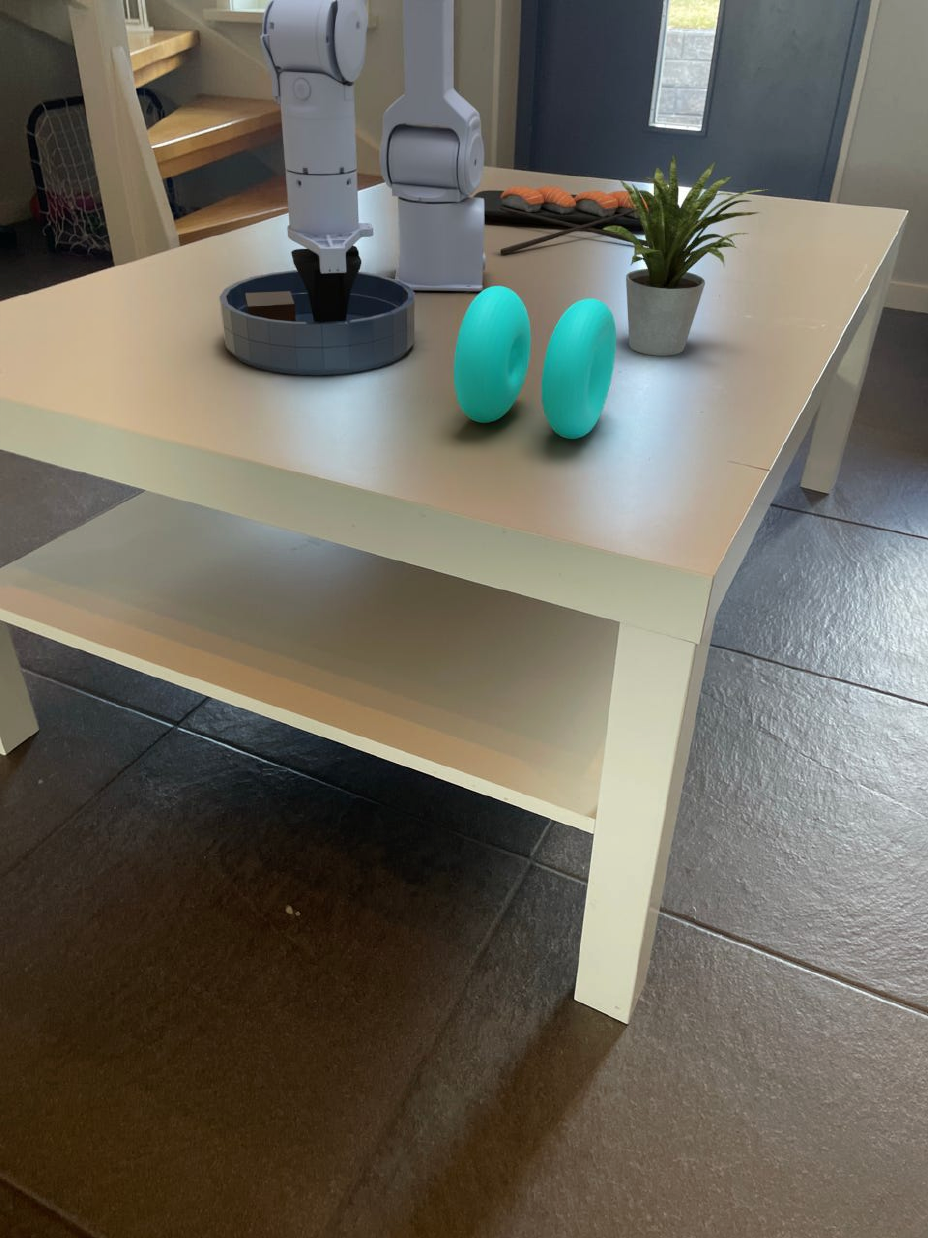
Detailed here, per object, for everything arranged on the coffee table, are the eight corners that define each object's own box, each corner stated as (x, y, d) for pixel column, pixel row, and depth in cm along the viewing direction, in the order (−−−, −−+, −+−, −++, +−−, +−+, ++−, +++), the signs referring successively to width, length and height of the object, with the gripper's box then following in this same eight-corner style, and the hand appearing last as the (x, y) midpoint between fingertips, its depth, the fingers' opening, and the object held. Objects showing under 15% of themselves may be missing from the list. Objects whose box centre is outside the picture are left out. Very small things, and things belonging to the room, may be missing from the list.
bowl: (416, 317, 97) (416, 270, 95) (412, 378, 83) (412, 325, 81) (242, 314, 97) (238, 267, 94) (208, 375, 83) (202, 322, 80)
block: (293, 334, 90) (290, 290, 88) (297, 349, 87) (294, 303, 85) (249, 337, 89) (245, 292, 87) (252, 351, 86) (247, 305, 84)
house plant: (700, 389, 82) (735, 181, 73) (554, 357, 88) (570, 160, 79) (754, 345, 93) (790, 156, 83) (620, 318, 98) (640, 139, 89)
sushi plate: (678, 214, 140) (681, 186, 138) (679, 266, 116) (684, 232, 114) (478, 202, 144) (479, 174, 142) (439, 250, 120) (439, 217, 118)
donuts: (494, 394, 80) (499, 269, 75) (612, 414, 77) (626, 286, 72) (446, 438, 73) (448, 302, 67) (574, 462, 70) (588, 323, 64)
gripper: (382, 185, 73) (386, 361, 81) (360, 153, 85) (365, 310, 93) (287, 186, 72) (300, 365, 80) (278, 154, 84) (290, 312, 92)
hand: (330, 336), depth 86 cm, fingers closed
